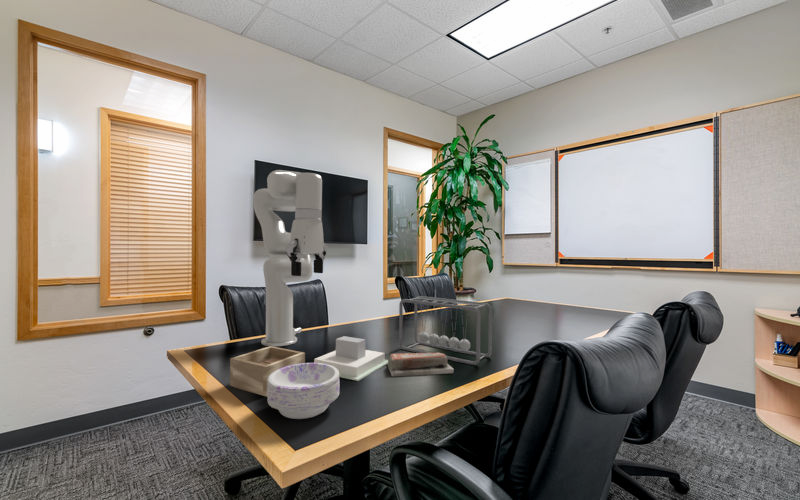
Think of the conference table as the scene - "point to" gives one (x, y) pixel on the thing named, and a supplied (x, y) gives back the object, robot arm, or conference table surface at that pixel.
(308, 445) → the conference table surface
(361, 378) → the mat
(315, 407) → the paper bowls
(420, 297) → the newton's cradle
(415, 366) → the packaged product
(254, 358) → the box
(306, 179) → the robot arm
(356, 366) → the lid
